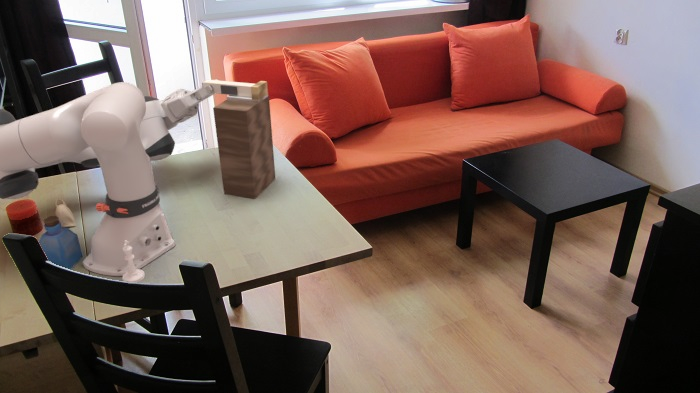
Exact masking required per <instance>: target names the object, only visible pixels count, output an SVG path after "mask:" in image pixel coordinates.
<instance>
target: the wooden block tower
mask: <svg viewBox="0 0 700 393" xmlns="http://www.w3.org/2000/svg"><path fill="white" fill-rule="evenodd" d="M254 84H255V85H253V86H251V94H252V97H245V96H235V95H226V100H224V101H222V102H221V103H218V104H217V105H215V106H214V107H212V108H213V110H212V111H213V117H214V126H215V133H216V140H217V147H218V148H217V149H218V157H219V163H220V165H219V166H220V172H221V173H220V174H221V179H222V180H221V182H222V188H223V195H227V196H233V197H241V198H246V199H252V200H256V199H257V198H258V196H259V195H261V194H262V193H263V191H265V190H266V189H267V188H268V187H269V186H270V185H271V184H272V183H273V181H275V180H276V169H275V168H276V166H275V157H274V156H275V152H274V145H273V143H274V142H273V130H272V117H271V105H270V104H271V103H270V96H269V90H268V81H265V80H260V81H258V82H256V83H254Z"/></svg>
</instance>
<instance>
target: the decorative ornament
mask: <svg viewBox="0 0 700 393" xmlns="http://www.w3.org/2000/svg"><path fill="white" fill-rule="evenodd" d="M59 201H61V203H62V204H61V203H60V204H59V205H58V203H59ZM55 207H56V208H55V216H57V217H58V218H59V221H60V222H61V225H62V226H61V227H62V228H70V227H76V226H77V225H76V224H77V223H76V219H75V218H76V217H75V215H74V214H73V212H72V210H71V209H70V208H69V207H68V206H67V205H66V201H65V200H64V199H62V198H57V199H56V200H55Z"/></svg>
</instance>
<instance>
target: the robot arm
mask: <svg viewBox="0 0 700 393" xmlns="http://www.w3.org/2000/svg"><path fill="white" fill-rule="evenodd" d="M214 80H219V79H218V78H215V79H214ZM213 90H214V88H213V86H212V85H209V86H207V87H205V88H203V87H202V85H201V86H200V87H197V88H196V89H193V90H192V91H190V90H187V89H185V88H179V89H177V90H175V91H173V92H172V93H170V94H169V95H167V96H165V98H164V99H163V100H160V99H158V98H156V97H154V96H149V95H147V96H144V94H143V92H142V90H141V89H140V88H139V87H137V86H136V85H134V84H133V83H130V82H126V81H121V82H120V81H119V82H114V83H111V84H110V85H107V86H105V87H102V88H99V89H97V90H94V91H92V92H91V91H90V92H89V93H87V94H85V95H81V96H80V97H77V98H75V99H73V100H70V101H68V102H66V103H64V104H61V105H59V106H57V107H54V108H51V109H49V110H48V109H47V110H45V111H41V112H39V113H38V112H37V113H35V114H33V115H29V116H26V117H24V118H20V119H16V118H15V117H14V115H13V114H12V113H11V112H10V111H8V110H6V109H4V108H0V199H2V200H5V199H7V200H17V199H21V198H24V197H26V196H28V195H29V194H31V193H33V191H34V190H36V189H37V188H38V186H39V183H40V182H39V175H38V172H37V171H36V169H40V168H46V167H51V166H55V165H57V164H62V163H68V162H69V163H76V164H80V165H82V166H83V167H84V168H100V170H101V172H102V178H103V182H104V186H105V190H106V195H105V196H106V197H105V203H102V202H98V203H96V205H95V210H96V211H97V212H102V213H104V215H103V217H102V219H101V221H100V222H99V225H98V226H97V228H96V229H95V232H94V233H93V235H92V237H91V239H90V253H89V254H88V255H86V257H85V258H84V259H83V260H82V265H83V267H84V268H85V269H86V270H88V271H90V272H93V273H95V274H100V275H104V276H112V277H113V276H114V277H123V275H124V274H125V273H127V272H128V260H125V259H124V258H125V256H126V254H125V252H124V251H123V248H124V244H125V242H124V241H125V240H127V241H129V243H128V246H131V247H132V253H131V254H133V255H134V258H133V259H132V260H133V263H134V265H135V268H136V269H140V270H141V268H143V267H145V266H147V265H148V264H149V263H151V262H152V261H154V260H155V259H157V258H159V257H160V256H162V255H164V254H166V253H167V251H169V250H171V249H173V248H174V247H175V246H176V242H175V240H174V238H173V236H172V232H171V230H170V229H169V226H168V223H167V220H166V216H165V214H164V213H165V212H164V211H163V209H162V207H161V205H160V201H161V198H160V191H159V188H158V186H157V184H156V183H155V176H154V172H153V167H152V162H155V161H161V160H163V159H166V158H168V157H170V156H171V155H172V154H173V152H174V149H175V146H176V141H175V140H174V138H173V136H172V135H171V133H170V130H172V129H173V128H175V127H177V126H178V125H179V124H181V123H184V122H185V121H187V120H189V119H191V118H193V117H195V116H196V115H197V114H198V113H199V112H198V111H199V106H200V103H202V102H203V101H205V100H207V99H208V98H210V97H212V96H213V95H215V93H210V92H211V91H213Z"/></svg>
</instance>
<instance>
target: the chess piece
mask: <svg viewBox="0 0 700 393" xmlns="http://www.w3.org/2000/svg"><path fill="white" fill-rule="evenodd" d="M124 242H125V244H124V248H123V251H124V252H125V254H126V256H125V258H124V259H125V260H128V272H127V273H125V274H124V275H123V276H121V278H122V282H124V281H130V282H136V283H138V282H141V281H142V280H143V279H144V278H145V276H146V275H145V271H144V270H142V269H141V268H140V269H136V268H135V265H134V263H133V260H132V259H133V258H134V255H133V254H131V253H132V247H131V246H128V243H129V241H127V240H125V241H124Z"/></svg>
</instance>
